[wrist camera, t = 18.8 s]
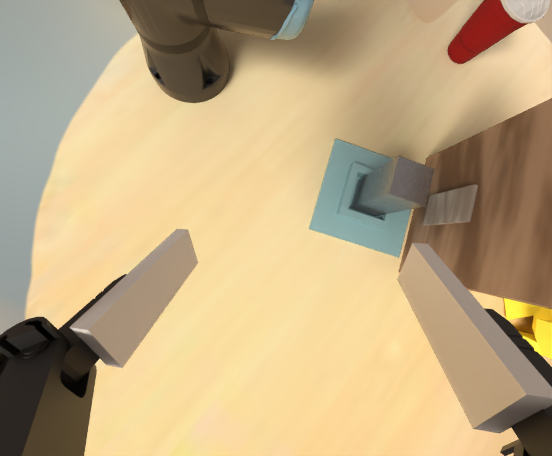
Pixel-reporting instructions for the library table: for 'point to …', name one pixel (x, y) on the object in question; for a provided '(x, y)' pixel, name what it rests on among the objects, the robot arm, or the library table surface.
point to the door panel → (494, 209)
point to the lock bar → (393, 188)
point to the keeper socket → (338, 197)
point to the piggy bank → (533, 324)
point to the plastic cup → (493, 25)
